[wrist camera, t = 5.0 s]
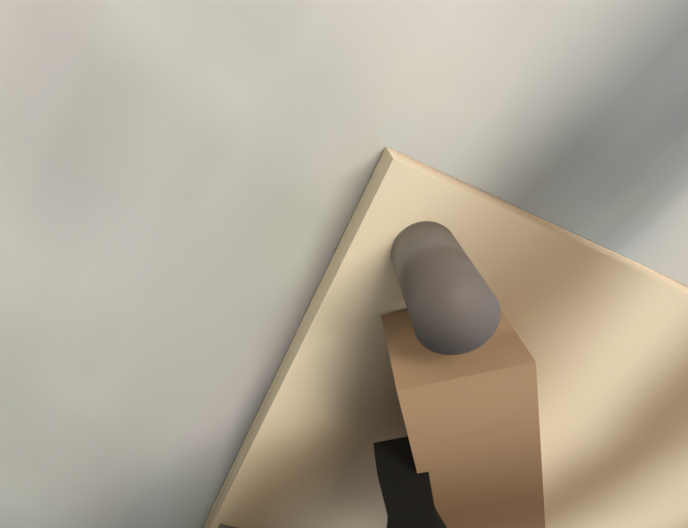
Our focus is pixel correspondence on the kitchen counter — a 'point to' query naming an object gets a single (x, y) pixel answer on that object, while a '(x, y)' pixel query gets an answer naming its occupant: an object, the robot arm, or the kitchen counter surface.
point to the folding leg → (472, 426)
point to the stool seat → (462, 337)
